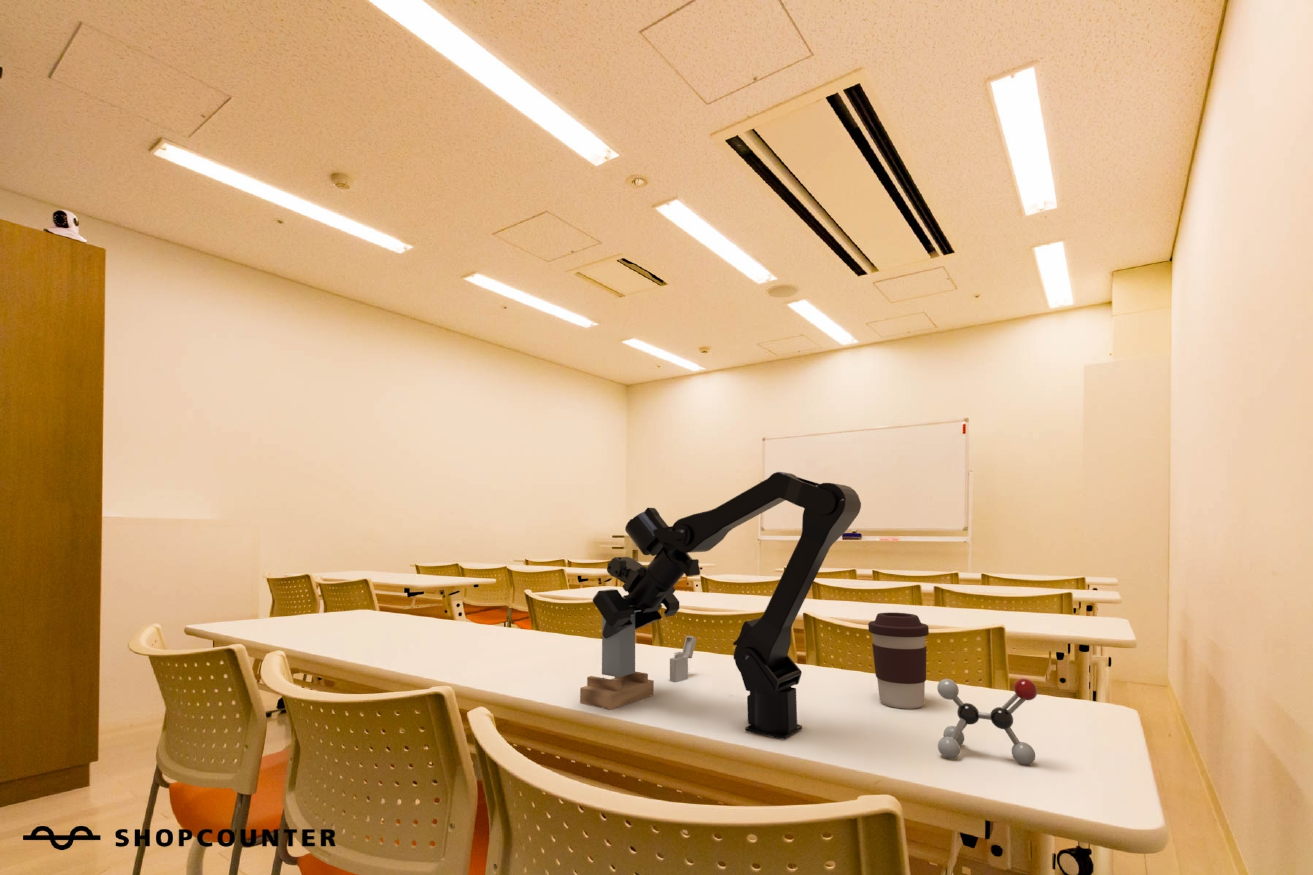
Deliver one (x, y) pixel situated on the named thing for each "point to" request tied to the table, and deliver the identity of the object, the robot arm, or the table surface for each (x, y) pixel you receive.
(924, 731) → the table surface
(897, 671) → the coffee cup
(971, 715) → the molecular model
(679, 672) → the lighter
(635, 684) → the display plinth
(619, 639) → the grey square pillar
